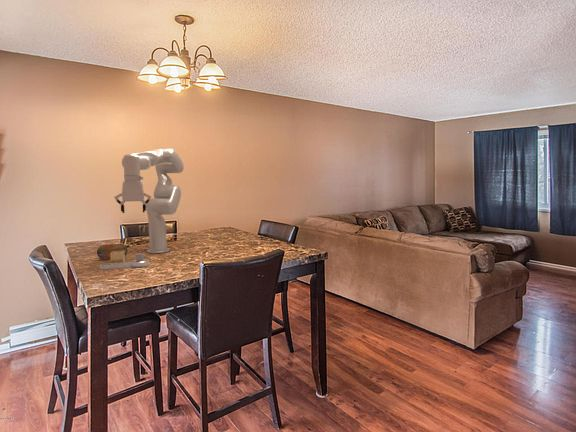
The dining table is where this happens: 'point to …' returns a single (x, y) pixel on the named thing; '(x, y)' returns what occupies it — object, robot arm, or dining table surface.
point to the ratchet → (127, 263)
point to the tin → (110, 250)
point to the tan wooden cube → (117, 256)
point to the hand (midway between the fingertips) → (133, 212)
